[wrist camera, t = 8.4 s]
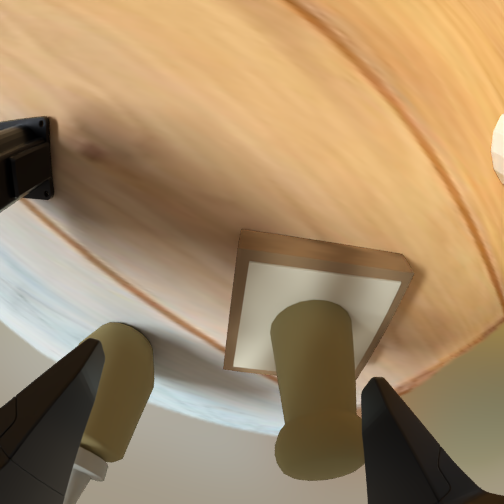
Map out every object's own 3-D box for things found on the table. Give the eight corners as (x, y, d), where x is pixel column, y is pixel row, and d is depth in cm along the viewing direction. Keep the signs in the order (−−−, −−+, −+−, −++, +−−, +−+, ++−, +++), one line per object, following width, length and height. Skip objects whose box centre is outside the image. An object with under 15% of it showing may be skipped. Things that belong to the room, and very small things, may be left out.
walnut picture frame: (226, 347, 27) (222, 370, 24) (241, 229, 20) (237, 249, 18) (351, 359, 27) (356, 381, 25) (402, 254, 21) (415, 274, 18)
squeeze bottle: (153, 376, 30) (111, 526, 15) (87, 345, 28) (24, 486, 13) (174, 336, 26) (122, 528, 11) (95, 298, 25) (4, 472, 9)
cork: (357, 345, 22) (383, 475, 13) (284, 364, 23) (285, 492, 14) (343, 288, 19) (381, 445, 10) (257, 313, 21) (247, 467, 11)
